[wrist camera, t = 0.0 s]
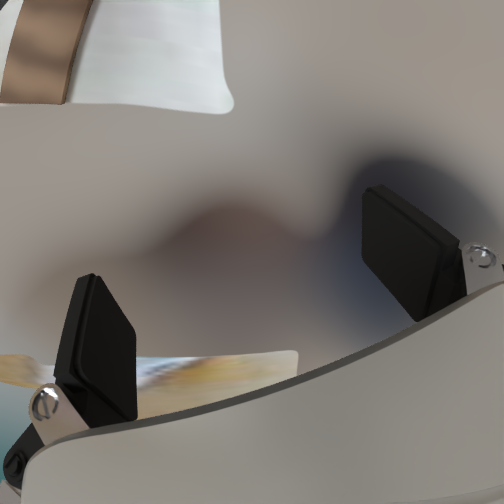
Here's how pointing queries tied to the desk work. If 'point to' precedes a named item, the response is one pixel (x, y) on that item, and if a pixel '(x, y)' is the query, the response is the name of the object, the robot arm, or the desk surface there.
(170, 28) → the desk surface
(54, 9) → the press base
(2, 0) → the lever
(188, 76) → the desk surface
